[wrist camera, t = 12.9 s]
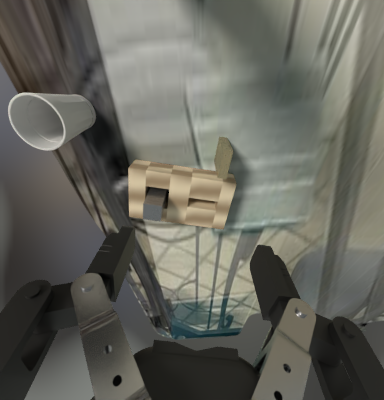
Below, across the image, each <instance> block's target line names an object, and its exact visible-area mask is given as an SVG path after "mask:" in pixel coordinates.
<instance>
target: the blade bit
mask: <svg viewBox="0 0 384 400" xmlns="http://www.w3.org/2000/svg"><path fill="white" fill-rule="evenodd" d="M232 155H233V149H232V147H231V145H230V143H229V141H228V139H227V138H224V137H219V141H218V146H217V150H216V155H215V160H214V162H215V167H216V173H217V178H221V179H226V178H227V174H228V170H229V166H230V163H231V159H232Z"/></svg>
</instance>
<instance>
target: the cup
mask: <svg viewBox="0 0 384 400" xmlns="http://www.w3.org/2000/svg"><path fill="white" fill-rule="evenodd" d="M8 113H9V119H10V122H11V124H12V126H13V128H14V130H15V131H16V133H17V134H18V135H19V136H20V137H21V138H22V139H23V140H24V141H25V142H26V143H28V144H30V145H31V146H33V147H35V148H37V149H41V150H54V149H57V148H59V147H60V146H62V145H63V144H65V143H66V142H67V141H69V140H71V139H72V138H74V137H75V136H77V135H78V134H80V133H81V132H83V131H85V130H86V129H88V128H90V127H92V126H93V124H94V123H95V120H96V114H95V110H94V108H93V106H92V104H91V103H90V102H89V101H88V100H87V99H86V98H84V97H83V96H80V95H76V94H74V95H60V94H39V93H21V94H18V95H16V96H15V97H14V98H12V100H11V101H10V104H9V107H8Z"/></svg>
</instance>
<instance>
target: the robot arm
mask: <svg viewBox="0 0 384 400" xmlns="http://www.w3.org/2000/svg"><path fill="white" fill-rule="evenodd" d="M134 249H135V227H129V226H122V227H121V229H120V231H119V233H112V234H110V235H109V236H108V237H106V239H105V240H104V242H103V244H102V246H101V247H100V249H99V251H98V252H97V254H96V256H95V258H94V259H93V261H92V263H91V264H90V266H89V268H88V270H87V271H86V273H85V274H83V275H81V276H79V277H78V278H77V279H75V280H74V282H71V283H67V284H61V285H55V286H51V284H50V283H49V282H48V281H45V280H35V281H32V282H29V283H27V284H26V285H24V286H23V287H21V288H20V289H19V290H18V291H17V292H16V293H15V295H14V296H13V297H12V298H11V300H10V301H9V302H8V304H7V305H6V306H5V308H4V309H3V310H2V311H1V313H0V400H24V399H25V397H26V394H27V392H28V391H29V388H30V387H31V384H32V382H33V380H34V378H35V376H36V374H37V372H38V370H39V368H40V366H41V364H42V362H43V360H44V358H45V356H46V354H47V352H48V350H49V348H50V346H51V344H52V342H53V340H54V338H55V336H56V334H57V332H58V330H59V329H64V328H68V327H72V326H77V325H79V330H80V335H81V340H82V344H83V348H84V353H85V357H86V361H87V366H88V370H89V375H90V379H91V383H92V388H93V392H94V397H93V398H92V399H91V400H302V399H303V394H304V390H305V386H306V381H307V377H308V372H309V368H310V364H311V360H312V363H313V366H314V368H315V371H316V374H317V377H318V380H319V383H320V386H321V389H322V392H323V394H324V397H325V400H384V369H383V367H382V365H381V364H380V362H379V360H378V359H377V357H376V355H375V354H374V352H373V350H372V348H371V347H370V345H369V343H368V342H367V340H366V338H365V336H364V335H363V333H362V332H361V330H360V329H359V328H358V327H357V326H356V325H355V324H354V323H353V322H352V321H350V320H348V319H346V318H344V317H335V318H334V319H333V320H329V319H327V318H325V317H322V316H320V315H318V314H316V313H315V312H314V311H313V309H312V308H311V307H310V305H308V304H307V303H306V302H305V301H303V300H301V299H300V296H299V294H298V292H297V290H296V288H295V285H294V283H293V281H292V279H291V277H290V275H289V272H288V271H287V268H286V266H285V264H284V262H283V261H282V259H281V258H280V257H279V256H278V255H274V252H273V250H272V248H271V247H270V246H265V245H258V246H257V247H256V250H255V252H254V254H253V256H252V259H251V261H250V271H251V275H252V279H253V283H254V286H255V290H256V294H257V298H258V302H259V305H260V309H261V313H262V317H263V320H269V321H271V324H272V326H271V327H270V329H269V332H268V334H267V336H266V338H265V341H264V343H263V345H262V348H261V350H260V352H259V355H258V356H257V358H256V360H255V362H254V363H253V365H251V364H250V363H249V362H247V361H246V360H244V359H243V358H241V357H239V356H238V351H237V349H232V348H223V347H214V348H210V349H205V350H200V351H195V350H192V349H190V348H187V347H185V346H183V345H180V344H178V343H176V342H168V341H159V340H154V344H153V346H152V347H148V348H145V349H143V350H141V351H139V352H137V353H136V354H134V355H133V354H132V351H131V348H130V346H129V343H128V341H127V338H126V336H125V333H124V330H123V328H122V325H121V322H120V320H119V317H118V315H117V313H116V311H114V309H113V307H112V304H111V302H110V301H112V302H116V299H117V296H118V293H119V291H120V288H121V285H122V283H123V280H124V278H125V275H126V272H127V270H128V267H129V264H130V262H131V259H132V256H133V253H134ZM342 362H343V363H342ZM343 364H344V365H343ZM344 366H345V367H344ZM346 371H347V372H346ZM347 373H348V374H347ZM348 375H349V376H348ZM349 377H350V378H349ZM351 382H352V383H351Z"/></svg>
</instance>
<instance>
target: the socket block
mask: <svg viewBox="0 0 384 400" xmlns="http://www.w3.org/2000/svg"><path fill="white" fill-rule="evenodd" d="M128 173H129V217H136V218H143V203H144V201H145V199H146V196H147V194H148V192H149V190H150V187H156V188H163V189H169V198H168V197H167V200H166V204H165V208H164V211H163V215H162V219H161V221H165V222H173V223H180V224H187V225H195V226H202V227H209V228H217V229H224V226H225V222H226V219H227V215H228V212H229V209H230V205H231V202H232V198H233V195H234V191H235V188H236V184H237V183H236V181H235V178H234V175H233V174H229V173H228V174H227V178H226V179H221V178H217V173H216V171H209V170H202V169H196V168H189V167H182V166H176V165H169V164H162V163H156V162H149V161H142V160H136V159H135V160H134V162H133V163H132V164H131V165H130V167H129V168H128Z"/></svg>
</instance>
